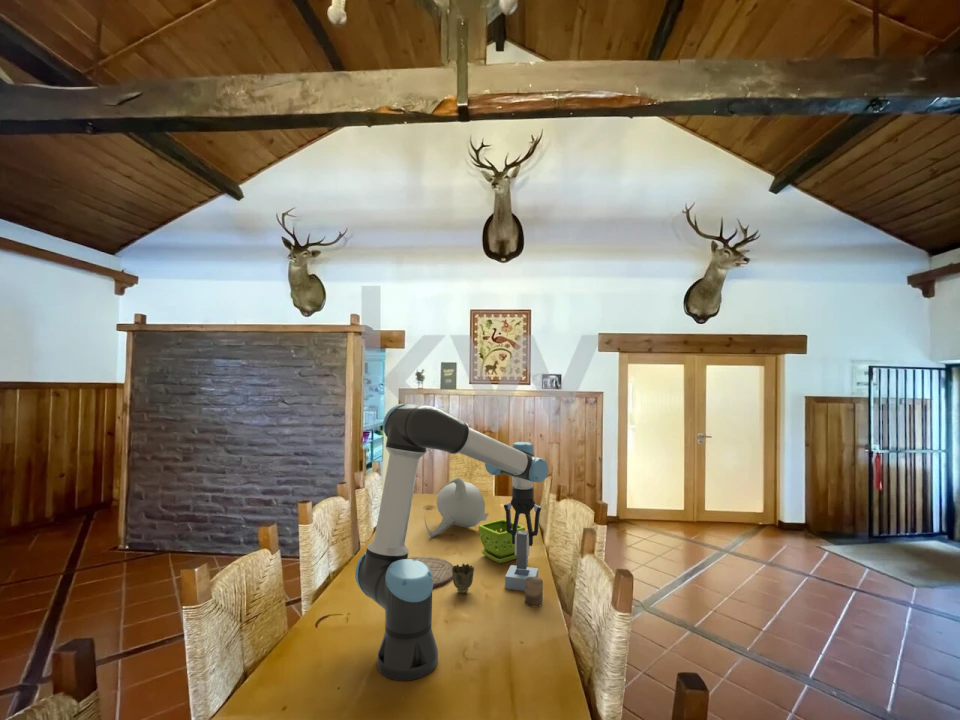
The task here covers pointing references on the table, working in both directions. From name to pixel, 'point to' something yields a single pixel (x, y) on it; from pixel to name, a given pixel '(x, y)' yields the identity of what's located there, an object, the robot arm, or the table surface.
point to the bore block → (519, 577)
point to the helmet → (459, 506)
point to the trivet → (437, 569)
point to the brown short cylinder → (534, 591)
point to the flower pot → (498, 541)
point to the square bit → (522, 550)
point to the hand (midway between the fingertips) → (522, 553)
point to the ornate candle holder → (462, 577)
